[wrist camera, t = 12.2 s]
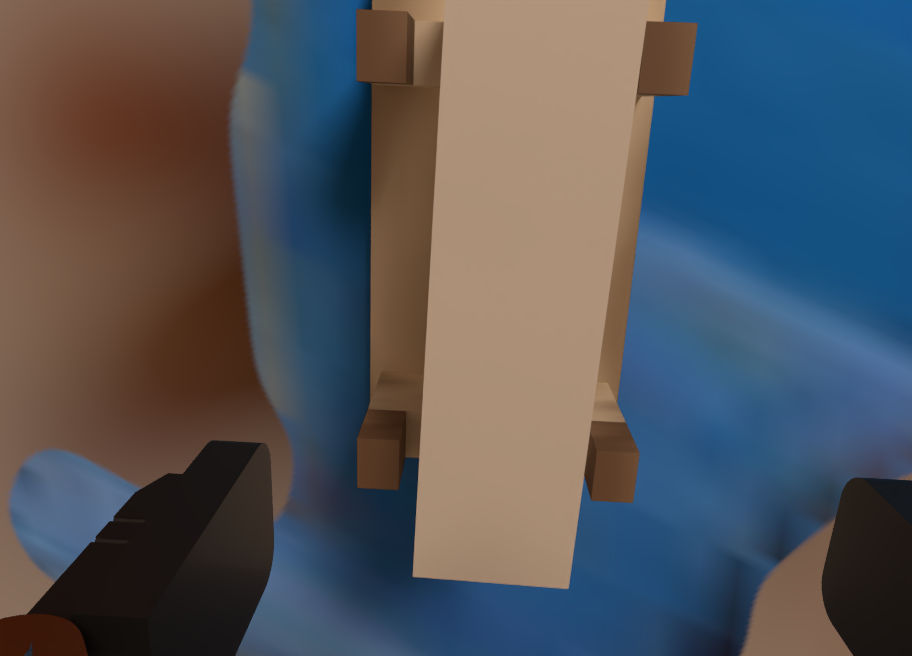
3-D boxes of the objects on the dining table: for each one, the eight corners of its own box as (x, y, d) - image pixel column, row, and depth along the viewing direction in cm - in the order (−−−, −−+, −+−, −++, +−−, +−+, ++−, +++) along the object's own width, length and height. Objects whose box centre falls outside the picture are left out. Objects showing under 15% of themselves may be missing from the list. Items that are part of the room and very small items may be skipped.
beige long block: (610, 0, 23) (654, -35, 17) (550, 490, 28) (568, 588, 23) (456, -11, 23) (448, -48, 17) (426, 481, 28) (412, 576, 23)
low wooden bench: (658, -10, 28) (725, -53, 20) (604, 449, 34) (640, 550, 26) (377, -22, 28) (338, -68, 20) (374, 437, 34) (343, 534, 26)
